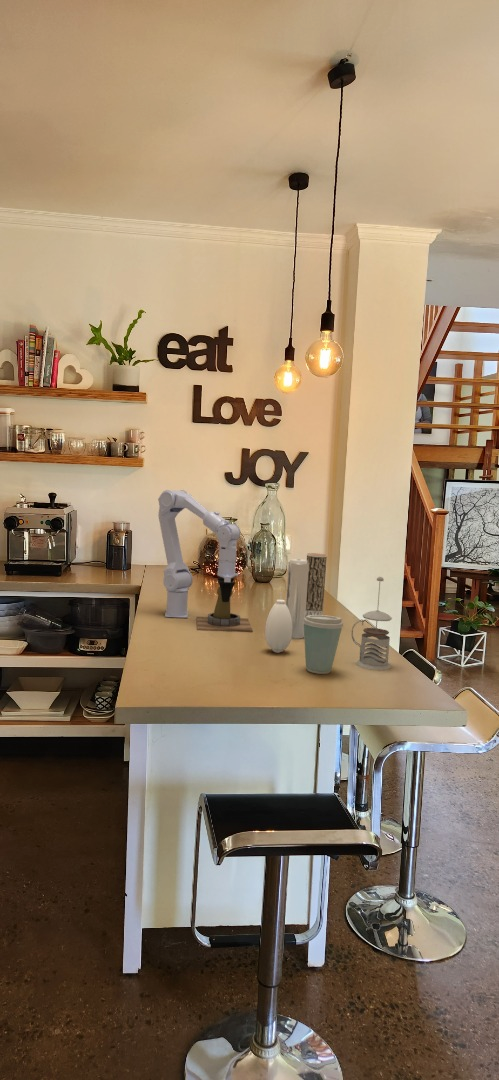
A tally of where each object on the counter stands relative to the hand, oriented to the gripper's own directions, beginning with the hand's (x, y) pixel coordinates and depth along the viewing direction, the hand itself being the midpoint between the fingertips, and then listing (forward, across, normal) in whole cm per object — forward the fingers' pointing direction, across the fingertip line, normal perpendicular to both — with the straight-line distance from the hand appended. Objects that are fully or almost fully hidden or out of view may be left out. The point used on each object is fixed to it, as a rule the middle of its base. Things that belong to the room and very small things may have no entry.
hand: (224, 600), depth 230 cm
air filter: (+9, -13, -22) cm, 27 cm away
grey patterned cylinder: (+9, +4, -31) cm, 32 cm away
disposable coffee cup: (+9, -51, -23) cm, 57 cm away
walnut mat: (+8, 0, 0) cm, 8 cm away
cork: (+6, 0, +1) cm, 7 cm away
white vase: (+9, -33, -14) cm, 37 cm away
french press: (+9, -43, -39) cm, 59 cm away
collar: (+8, 0, 0) cm, 8 cm away
